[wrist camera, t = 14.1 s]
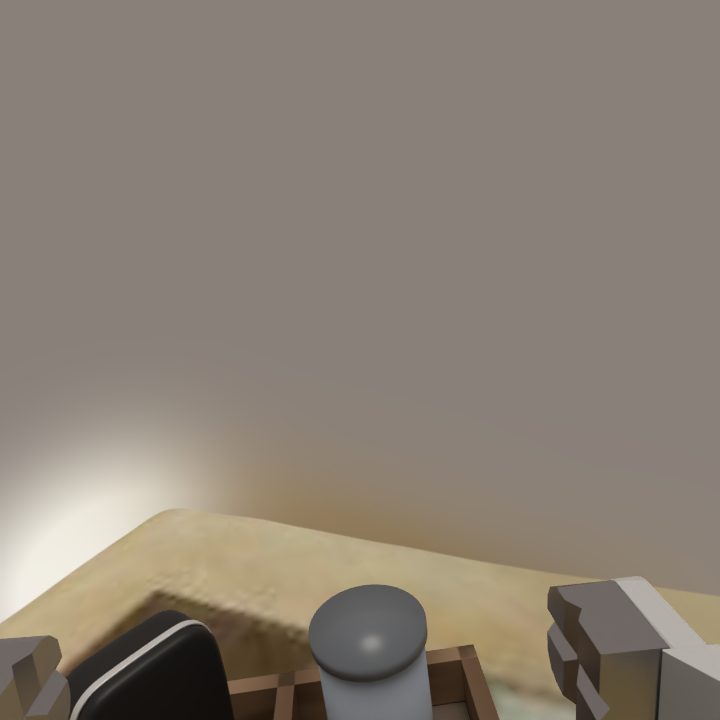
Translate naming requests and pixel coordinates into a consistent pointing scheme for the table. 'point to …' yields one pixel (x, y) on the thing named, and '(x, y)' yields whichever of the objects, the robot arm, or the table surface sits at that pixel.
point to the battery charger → (154, 675)
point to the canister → (372, 655)
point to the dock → (306, 700)
